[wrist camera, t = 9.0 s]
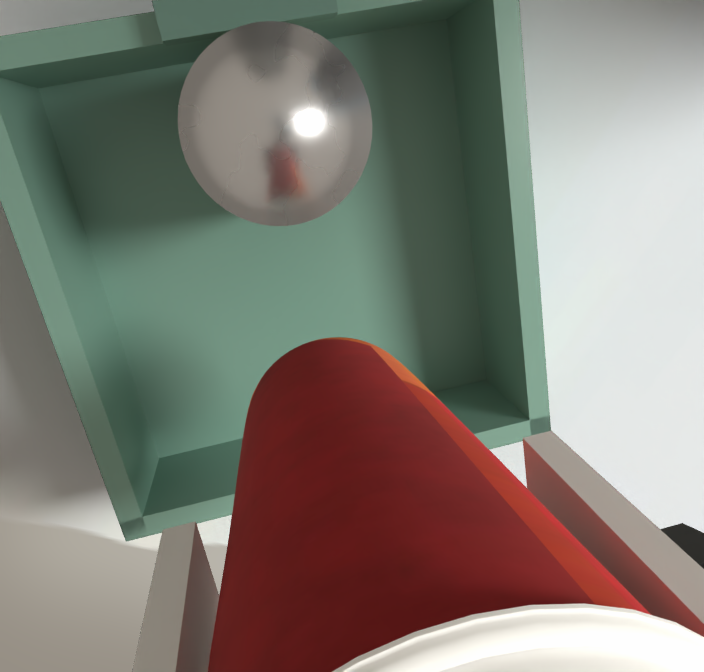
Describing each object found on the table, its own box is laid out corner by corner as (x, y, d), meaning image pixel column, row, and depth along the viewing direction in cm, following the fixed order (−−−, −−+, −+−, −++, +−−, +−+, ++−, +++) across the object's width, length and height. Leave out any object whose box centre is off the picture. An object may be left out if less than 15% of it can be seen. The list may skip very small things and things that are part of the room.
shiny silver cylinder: (182, 75, 25) (150, 37, 17) (320, 51, 26) (355, 3, 18) (218, 215, 27) (205, 244, 19) (345, 190, 28) (387, 207, 20)
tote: (11, 66, 25) (-74, 36, 18) (459, -8, 27) (527, -59, 20) (148, 473, 31) (122, 558, 25) (499, 387, 34) (561, 445, 27)
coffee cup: (182, 493, 20) (34, 1297, 6) (256, 268, 18) (297, 662, 4) (401, 541, 22) (674, 1212, 8) (488, 344, 20) (1030, 772, 6)
